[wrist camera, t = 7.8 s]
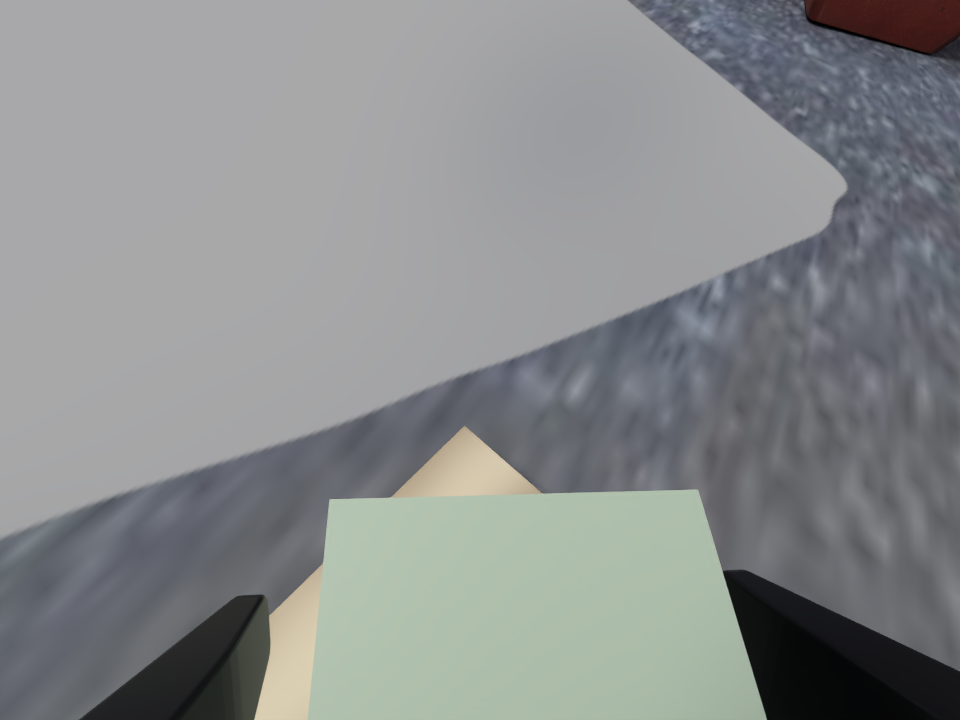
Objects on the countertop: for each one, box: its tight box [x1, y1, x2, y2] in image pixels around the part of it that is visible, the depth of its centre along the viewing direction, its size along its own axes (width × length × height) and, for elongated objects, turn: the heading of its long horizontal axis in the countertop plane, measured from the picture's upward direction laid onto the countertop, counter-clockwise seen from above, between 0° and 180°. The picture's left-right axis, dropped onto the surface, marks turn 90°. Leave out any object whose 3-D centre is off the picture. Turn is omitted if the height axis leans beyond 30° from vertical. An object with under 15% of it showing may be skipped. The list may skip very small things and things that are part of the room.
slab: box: [254, 426, 542, 720], centre depth 15 cm, size 11×12×3 cm
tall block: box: [308, 490, 767, 720], centre depth 9 cm, size 5×5×10 cm
